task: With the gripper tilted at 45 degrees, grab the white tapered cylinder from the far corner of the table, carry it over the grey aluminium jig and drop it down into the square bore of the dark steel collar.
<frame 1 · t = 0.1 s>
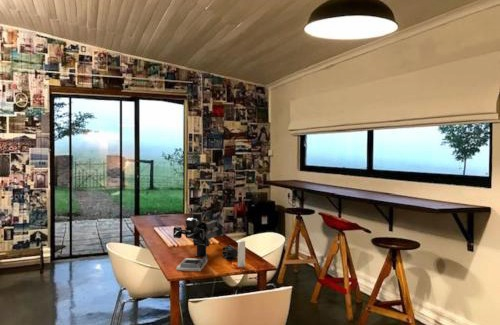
hand: (181, 236, 225), 17 cm above the table, tool horizontal, fingers open, 9 cm apart
jig: (192, 265, 227), on the table
white tapered cylinder: (241, 266, 227), on the table
end cap: (230, 258, 245), on the table
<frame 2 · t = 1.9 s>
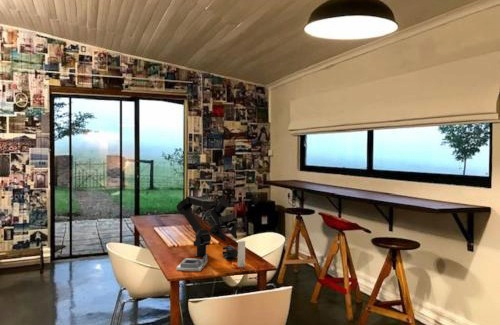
hand: (231, 239, 232), 14 cm above the table, tool tilted 45°, fingers open, 9 cm apart
nothing on the table moved.
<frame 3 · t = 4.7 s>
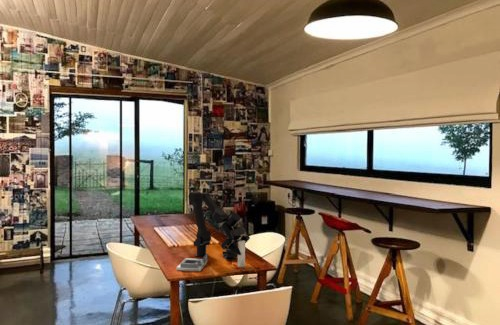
hand: (243, 254, 226), 7 cm above the table, tool tilted 45°, fingers closed on white tapered cylinder, 4 cm apart
white tapered cylinder: (241, 266, 227), on the table, touching gripper
everything else where it was.
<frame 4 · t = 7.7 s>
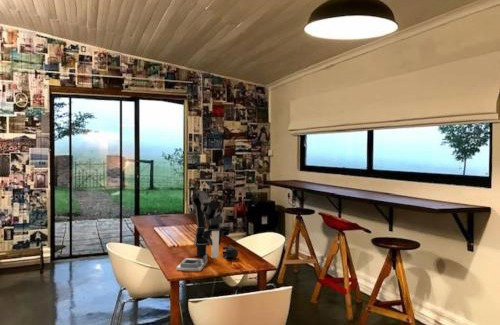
hand: (215, 244, 219), 14 cm above the table, tool tilted 45°, fingers closed on white tapered cylinder, 4 cm apart
white tapered cylinder: (214, 256, 221), point 7 cm above the table, touching gripper
everything else where it was.
when the fingers open (8 cm above the table, at t = 10.5 s): white tapered cylinder drops 1 cm, resting in jig.
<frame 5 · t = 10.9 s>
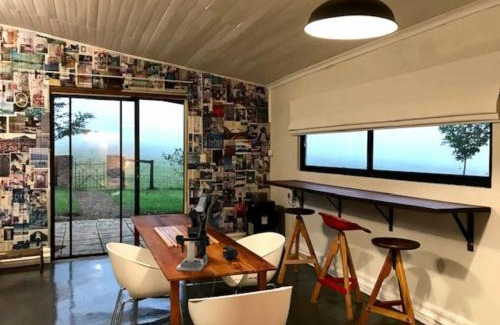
hand: (190, 253, 220), 8 cm above the table, tool tilted 45°, fingers open, 8 cm apart
white tapered cylinder: (190, 268, 222), resting in jig
everything else where it was.
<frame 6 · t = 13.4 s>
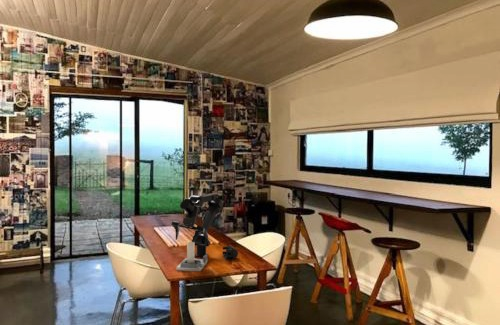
hand: (184, 241, 231), 12 cm above the table, tool tilted 30°, fingers open, 9 cm apart
nothing on the table moved.
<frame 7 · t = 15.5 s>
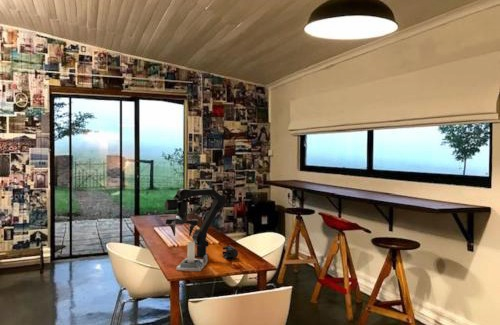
hand: (182, 236, 242), 13 cm above the table, tool pointing down, fingers open, 9 cm apart
nothing on the table moved.
at the end: white tapered cylinder 0.0 cm from the target spot, resting in jig; white tapered cylinder tilted 1°; the gripper is holding nothing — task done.
